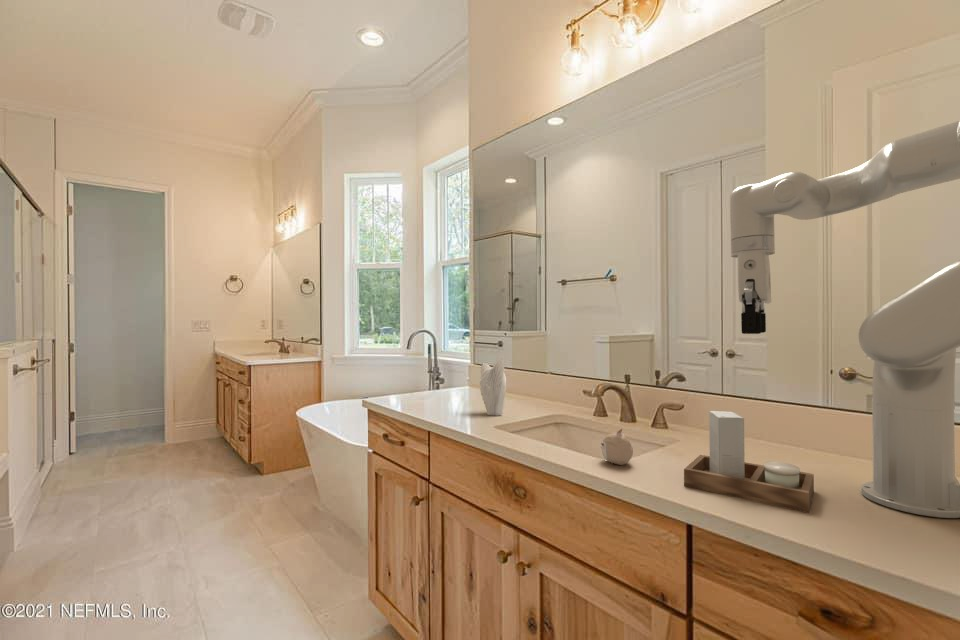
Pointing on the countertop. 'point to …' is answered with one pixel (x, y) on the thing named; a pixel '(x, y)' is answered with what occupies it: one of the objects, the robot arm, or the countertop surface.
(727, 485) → the walnut caddy
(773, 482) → the cream jar
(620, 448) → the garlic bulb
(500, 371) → the shell sculpture
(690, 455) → the countertop surface
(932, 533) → the countertop surface
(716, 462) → the skincare box
